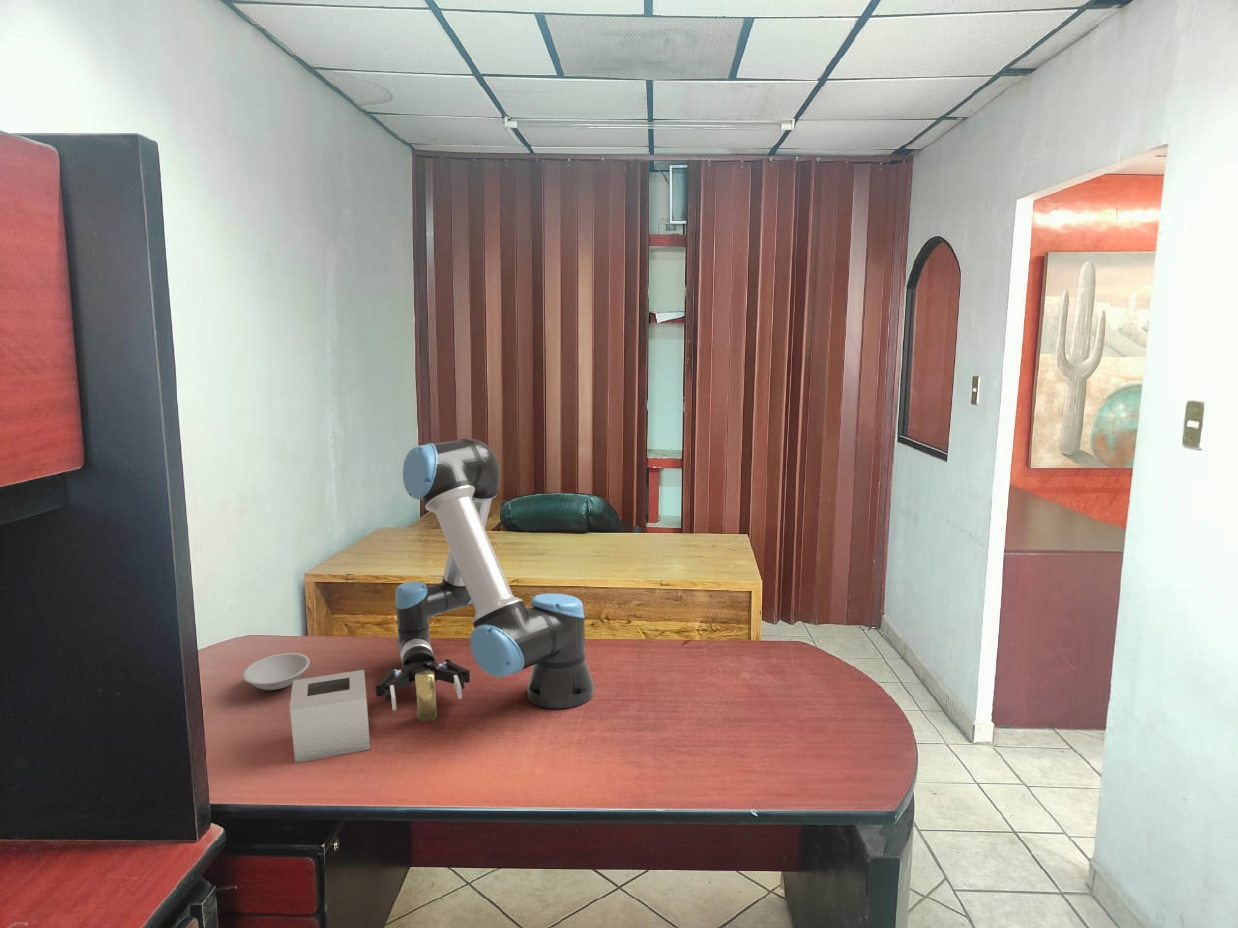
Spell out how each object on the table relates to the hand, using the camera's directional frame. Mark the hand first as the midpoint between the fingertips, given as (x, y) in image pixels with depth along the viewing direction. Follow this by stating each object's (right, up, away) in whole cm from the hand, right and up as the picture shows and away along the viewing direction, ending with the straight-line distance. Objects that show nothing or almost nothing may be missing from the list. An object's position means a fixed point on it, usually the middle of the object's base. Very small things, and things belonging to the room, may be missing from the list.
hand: (427, 698), depth 165 cm
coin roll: (-1, -5, +4) cm, 7 cm away
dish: (-40, -4, +21) cm, 46 cm away
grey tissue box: (-18, -7, -5) cm, 20 cm away
